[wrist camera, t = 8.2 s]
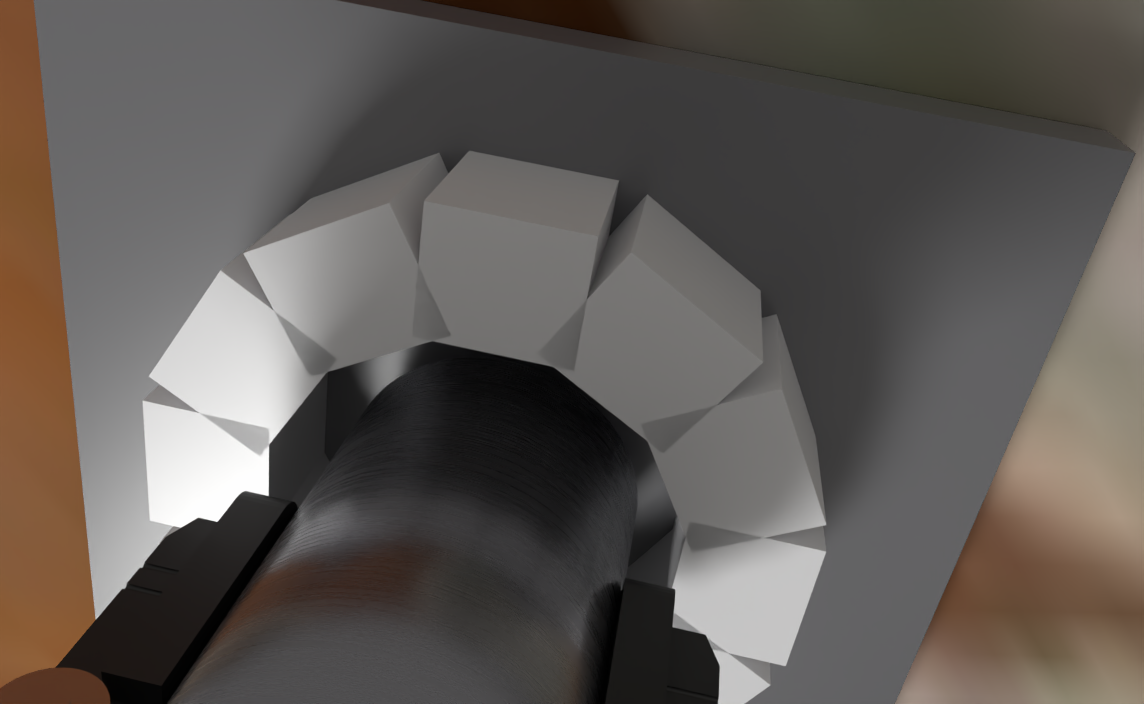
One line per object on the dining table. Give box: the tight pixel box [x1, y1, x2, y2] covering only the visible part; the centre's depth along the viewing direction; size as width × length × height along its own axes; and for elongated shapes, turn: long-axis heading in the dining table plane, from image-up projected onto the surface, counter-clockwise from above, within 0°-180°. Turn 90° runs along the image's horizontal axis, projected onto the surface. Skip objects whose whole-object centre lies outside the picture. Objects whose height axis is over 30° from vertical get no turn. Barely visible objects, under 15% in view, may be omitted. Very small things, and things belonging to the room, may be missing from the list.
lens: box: [167, 357, 638, 704], centre depth 12 cm, size 5×5×9 cm
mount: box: [34, 0, 1135, 704], centre depth 17 cm, size 16×14×4 cm
